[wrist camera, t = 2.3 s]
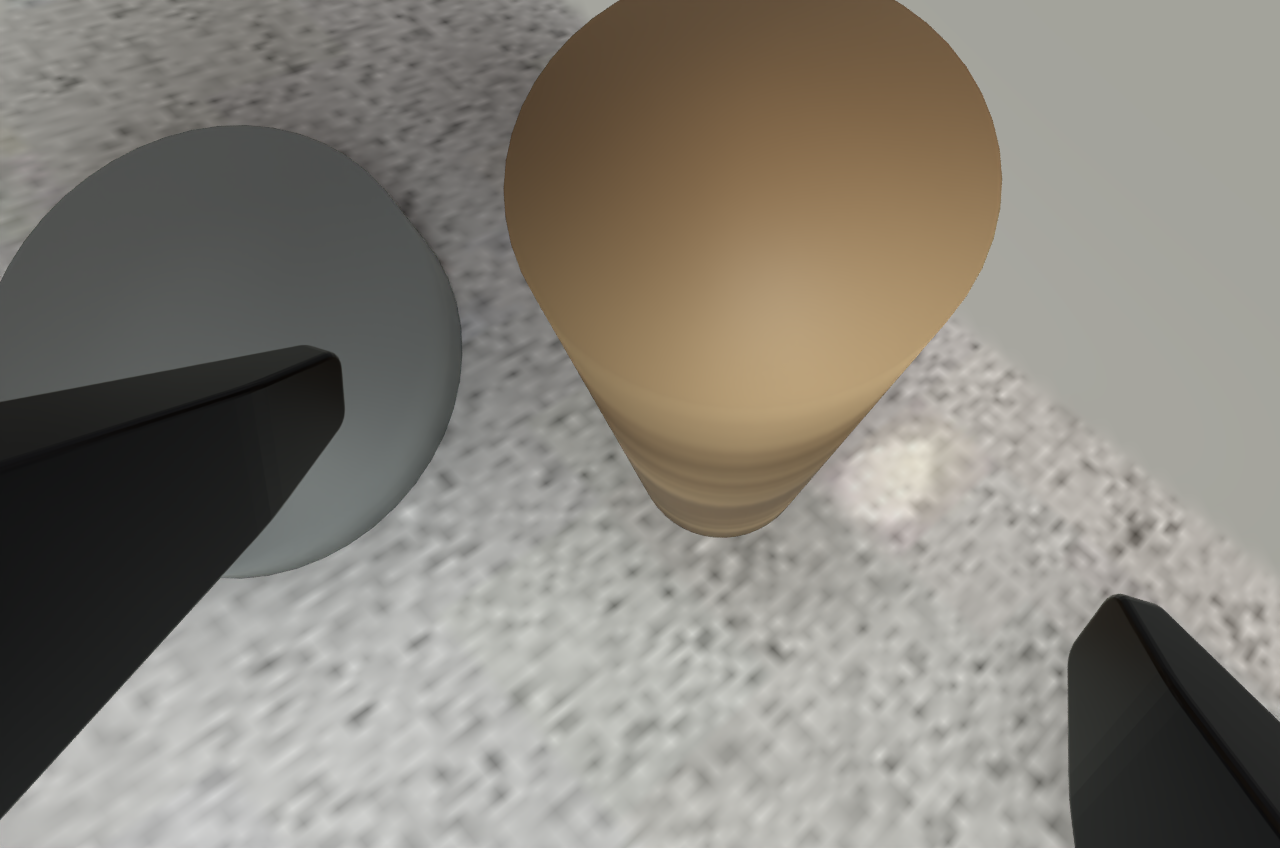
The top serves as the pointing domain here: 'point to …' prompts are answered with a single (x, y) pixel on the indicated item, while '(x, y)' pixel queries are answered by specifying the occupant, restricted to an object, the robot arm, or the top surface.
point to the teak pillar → (748, 230)
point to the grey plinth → (248, 306)
